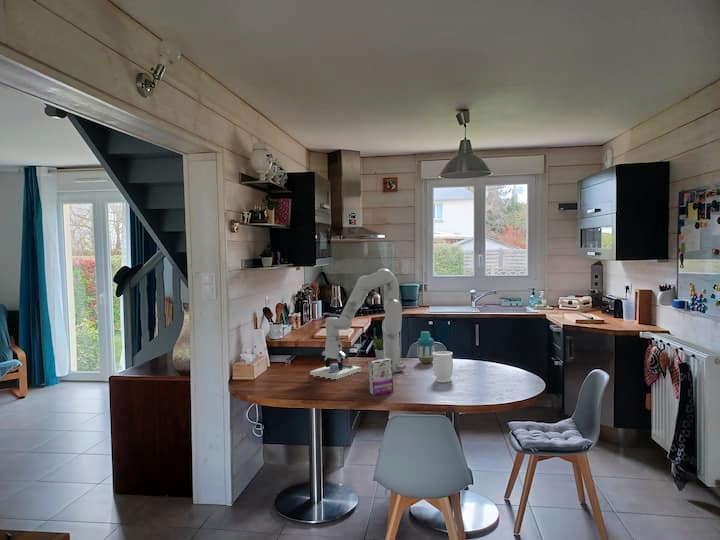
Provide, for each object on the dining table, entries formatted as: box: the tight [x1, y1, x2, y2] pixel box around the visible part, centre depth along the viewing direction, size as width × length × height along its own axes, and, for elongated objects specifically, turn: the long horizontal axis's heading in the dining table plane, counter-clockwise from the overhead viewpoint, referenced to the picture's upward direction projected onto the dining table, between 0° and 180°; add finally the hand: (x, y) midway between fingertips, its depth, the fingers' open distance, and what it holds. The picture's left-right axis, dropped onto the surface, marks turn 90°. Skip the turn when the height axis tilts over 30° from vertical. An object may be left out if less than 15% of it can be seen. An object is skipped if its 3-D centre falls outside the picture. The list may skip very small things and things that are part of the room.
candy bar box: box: [367, 358, 394, 396], centre depth 246 cm, size 11×5×16 cm, turn 114°
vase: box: [416, 330, 436, 364], centre depth 305 cm, size 11×11×19 cm
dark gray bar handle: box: [332, 362, 354, 368], centre depth 294 cm, size 14×2×2 cm, turn 51°
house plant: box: [372, 335, 384, 360], centre depth 321 cm, size 14×14×16 cm
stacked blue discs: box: [330, 363, 340, 373], centre depth 288 cm, size 5×5×6 cm
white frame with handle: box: [309, 365, 362, 380], centre depth 289 cm, size 20×22×2 cm
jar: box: [432, 350, 454, 384], centre depth 263 cm, size 11×10×15 cm
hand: (334, 367), depth 288 cm, fingers open, 9 cm apart
